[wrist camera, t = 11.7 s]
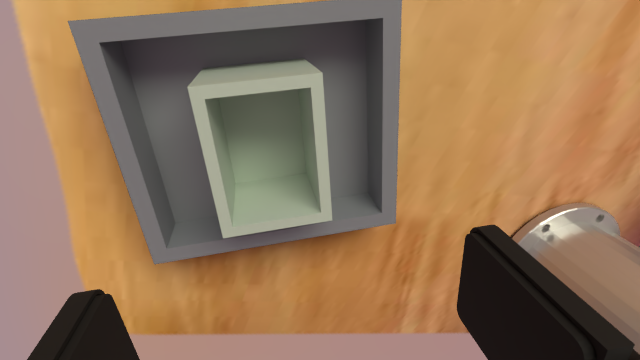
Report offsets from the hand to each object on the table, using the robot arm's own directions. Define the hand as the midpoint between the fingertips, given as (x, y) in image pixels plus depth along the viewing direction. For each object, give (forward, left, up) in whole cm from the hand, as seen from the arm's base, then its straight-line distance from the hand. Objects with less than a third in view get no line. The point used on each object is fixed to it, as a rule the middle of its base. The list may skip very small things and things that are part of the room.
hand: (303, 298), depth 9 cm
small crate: (0, 0, -15) cm, 15 cm away
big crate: (0, 0, -16) cm, 16 cm away
